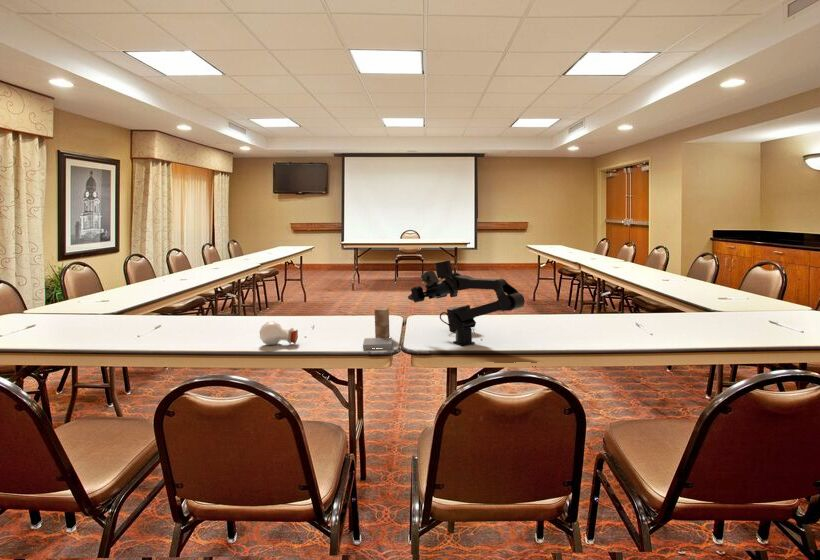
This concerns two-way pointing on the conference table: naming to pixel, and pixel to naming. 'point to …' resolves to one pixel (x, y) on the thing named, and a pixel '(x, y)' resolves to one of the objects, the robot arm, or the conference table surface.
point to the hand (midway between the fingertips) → (415, 296)
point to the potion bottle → (277, 334)
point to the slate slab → (377, 343)
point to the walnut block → (382, 323)
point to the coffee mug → (449, 318)
